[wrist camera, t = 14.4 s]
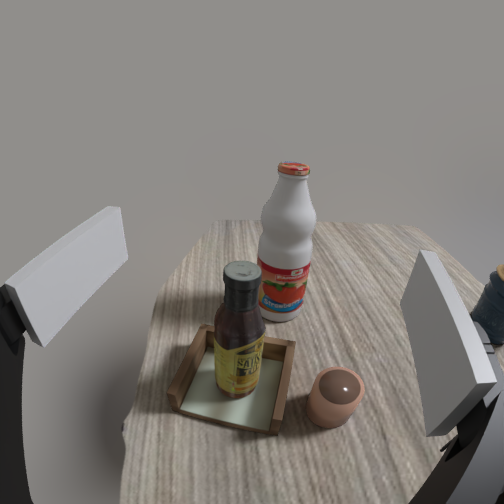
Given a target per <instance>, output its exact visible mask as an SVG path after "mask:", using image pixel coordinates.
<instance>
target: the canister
mask: <svg viewBox="0 0 504 504" xmlns="http://www.w3.org/2000/svg"><path fill="white" fill-rule="evenodd" d="M471 319H472V321H474V322H478V323H479V325H480V326H481V327H482V328H483V329H484V331H485V332H486V334H487V336H488V338H489V340H490V342H491V343H493V344H503V343H504V265H498V267H497V271H494V272H492V273H491V274H490V281H489V283H488V284H486V285H485V287H484V291H483V293H482V295H481V297H480V299H479V301H478V303H477V305H476V306H475V307H474V309H473V311H472V315H471Z"/></svg>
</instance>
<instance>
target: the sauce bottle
mask: <svg viewBox="0 0 504 504" xmlns="http://www.w3.org/2000/svg"><path fill="white" fill-rule="evenodd" d="M261 279H262V270H261V269H260V267H259V266H258V265H257V264H255V263H252V262H249V261H234V262H231V263H229V264H228V265H226V266H225V267H224V272H223V281H224V283H225V296H224V303H222V305H221V306H220V308H219V309H218V311H217V312H216V315H215V320H214V364H215V379H216V385H217V387H218V389H219V390H220V392H221V393H222V394H224V395H226V396H228V397H230V398H242V397H245V396H248V395H250V394H251V393H252V392H253V391H254V389H255V387H256V385H257V383H258V380H259V373H260V366H261V359H262V352H263V344H264V337H265V329H266V328H265V325H264V323H263V319H262V316H261V312H260V308H259V305H258V301H259V300H258V293H259V286H260V284H261Z"/></svg>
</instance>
